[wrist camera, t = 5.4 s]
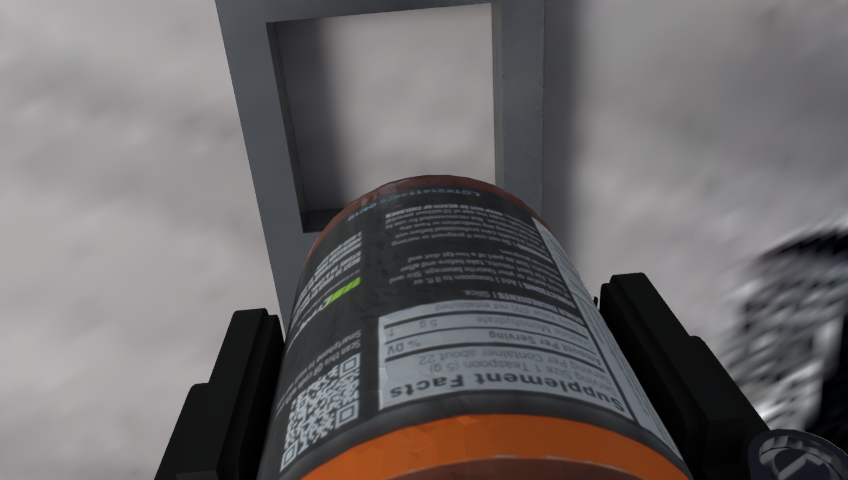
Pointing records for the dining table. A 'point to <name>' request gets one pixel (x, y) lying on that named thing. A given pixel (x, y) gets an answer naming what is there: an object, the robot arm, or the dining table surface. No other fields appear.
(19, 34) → the dining table surface
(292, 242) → the grey rectangular frame
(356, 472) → the supplement bottle
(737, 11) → the dining table surface
